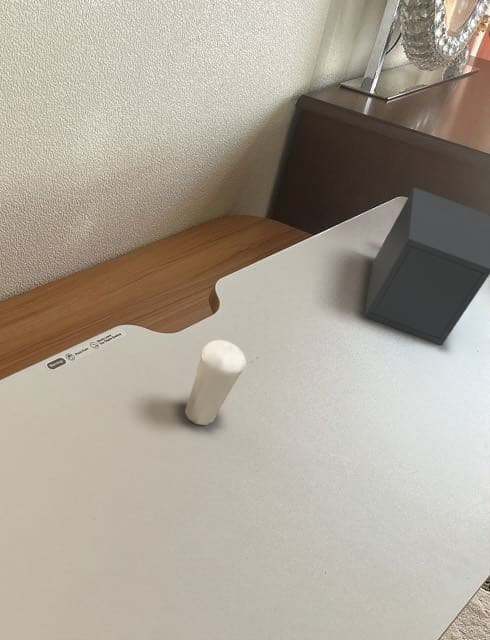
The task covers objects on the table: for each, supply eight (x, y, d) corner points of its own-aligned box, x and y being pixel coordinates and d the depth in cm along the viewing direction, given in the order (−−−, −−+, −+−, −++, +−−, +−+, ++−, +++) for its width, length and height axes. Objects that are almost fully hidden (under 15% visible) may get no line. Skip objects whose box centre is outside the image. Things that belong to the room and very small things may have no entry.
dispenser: (372, 263, 123) (413, 186, 114) (444, 290, 122) (491, 215, 114) (364, 316, 114) (408, 238, 105) (441, 345, 114) (493, 269, 105)
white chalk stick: (214, 440, 93) (247, 368, 85) (171, 414, 94) (201, 341, 86) (232, 419, 96) (267, 347, 88) (190, 394, 97) (221, 321, 89)
